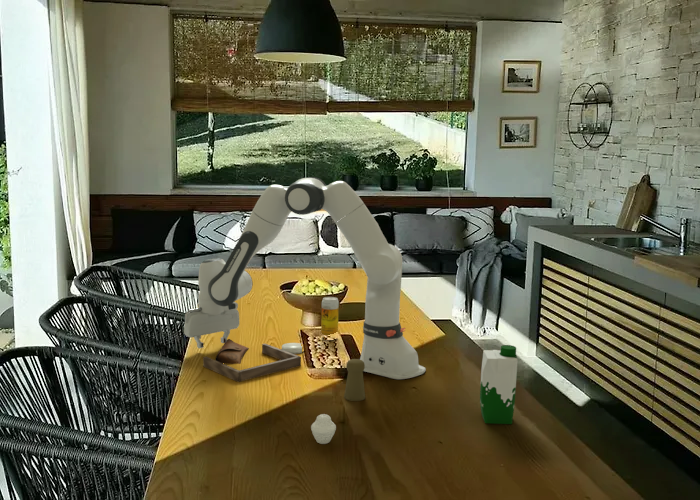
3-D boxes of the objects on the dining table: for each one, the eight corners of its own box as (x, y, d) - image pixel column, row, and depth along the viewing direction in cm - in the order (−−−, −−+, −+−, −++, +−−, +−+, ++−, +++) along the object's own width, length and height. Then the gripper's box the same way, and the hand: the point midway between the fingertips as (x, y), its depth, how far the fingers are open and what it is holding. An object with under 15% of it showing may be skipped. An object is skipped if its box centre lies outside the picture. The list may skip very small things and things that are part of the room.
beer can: (318, 339, 271) (319, 299, 269) (325, 335, 277) (326, 295, 274) (333, 341, 269) (334, 301, 267) (340, 337, 275) (341, 297, 272)
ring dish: (309, 350, 258) (310, 346, 257) (291, 355, 252) (291, 350, 252) (295, 345, 263) (295, 341, 263) (277, 349, 258) (277, 345, 258)
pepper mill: (350, 402, 211) (351, 364, 209) (340, 395, 216) (341, 358, 214) (369, 399, 213) (370, 361, 212) (359, 392, 219) (360, 355, 217)
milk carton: (516, 425, 197) (520, 352, 194) (481, 424, 197) (485, 351, 194) (510, 413, 205) (514, 342, 202) (476, 412, 206) (480, 341, 202)
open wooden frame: (300, 365, 241) (300, 356, 241) (238, 381, 225) (238, 372, 224) (264, 352, 255) (265, 343, 254) (203, 366, 238) (203, 357, 238)
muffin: (315, 448, 180) (316, 420, 179) (307, 438, 186) (307, 411, 185) (339, 444, 183) (340, 416, 181) (330, 434, 188) (330, 408, 187)
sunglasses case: (241, 364, 241) (231, 346, 241) (222, 374, 242) (212, 356, 241) (249, 347, 259) (239, 331, 258) (232, 357, 260) (222, 341, 259)
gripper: (190, 312, 245) (190, 353, 247) (241, 303, 259) (241, 341, 261) (180, 308, 249) (180, 348, 251) (231, 299, 263) (231, 338, 265)
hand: (212, 345), depth 256 cm, fingers open, 8 cm apart
